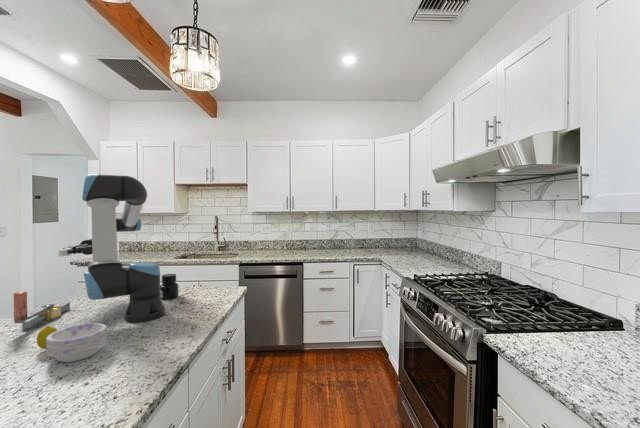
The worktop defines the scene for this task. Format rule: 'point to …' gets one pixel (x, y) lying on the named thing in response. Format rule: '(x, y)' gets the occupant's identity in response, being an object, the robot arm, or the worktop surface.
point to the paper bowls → (76, 342)
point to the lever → (25, 308)
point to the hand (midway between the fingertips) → (60, 253)
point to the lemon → (44, 336)
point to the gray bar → (45, 316)
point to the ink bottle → (168, 287)
